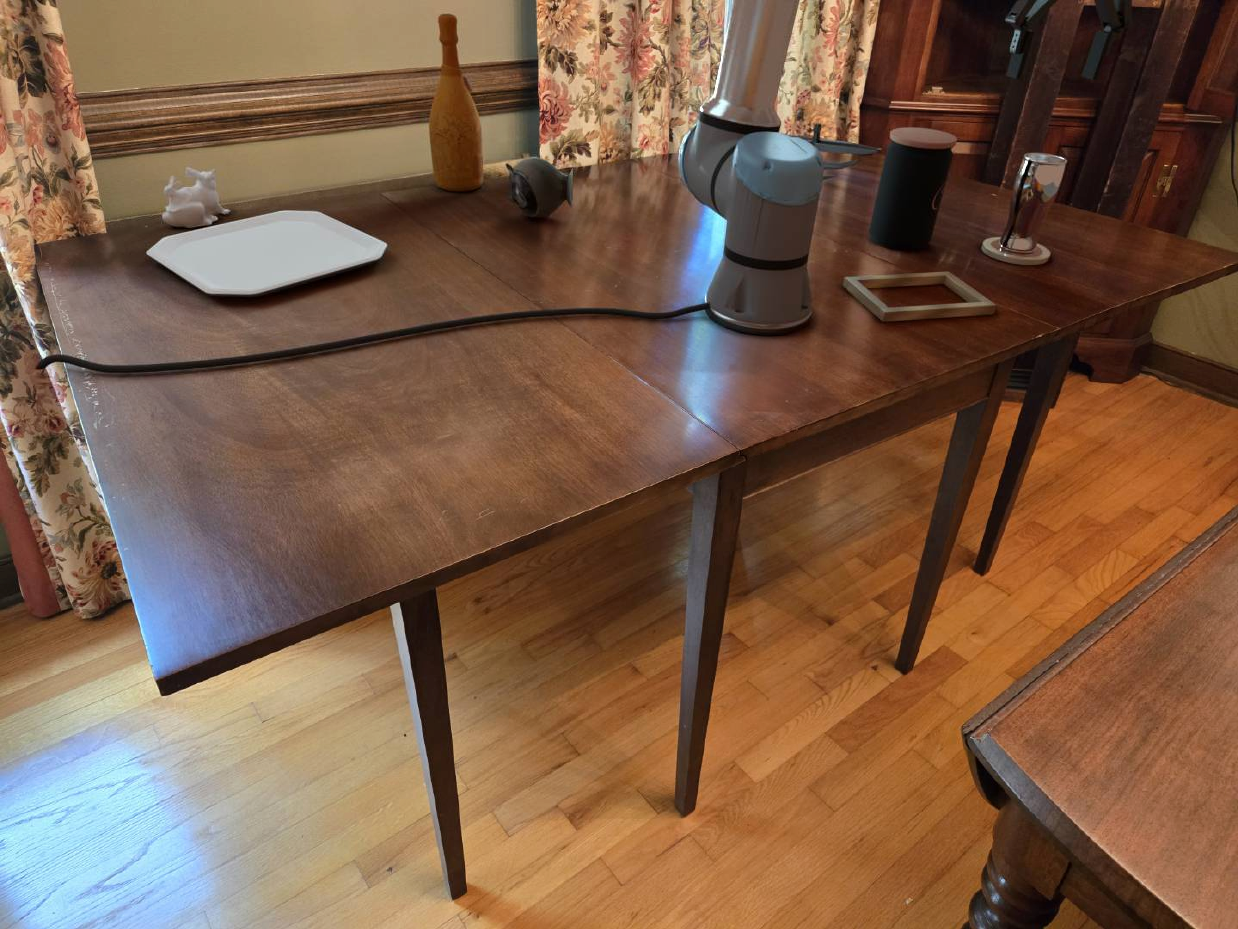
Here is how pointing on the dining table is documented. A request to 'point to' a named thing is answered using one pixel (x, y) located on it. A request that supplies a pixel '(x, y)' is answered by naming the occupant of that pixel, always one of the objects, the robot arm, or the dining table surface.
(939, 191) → the coffee jar
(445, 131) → the wine bottle
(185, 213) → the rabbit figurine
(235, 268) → the plate
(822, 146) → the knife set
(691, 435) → the dining table surface
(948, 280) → the picture frame
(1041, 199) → the beer glass
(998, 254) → the trivet
